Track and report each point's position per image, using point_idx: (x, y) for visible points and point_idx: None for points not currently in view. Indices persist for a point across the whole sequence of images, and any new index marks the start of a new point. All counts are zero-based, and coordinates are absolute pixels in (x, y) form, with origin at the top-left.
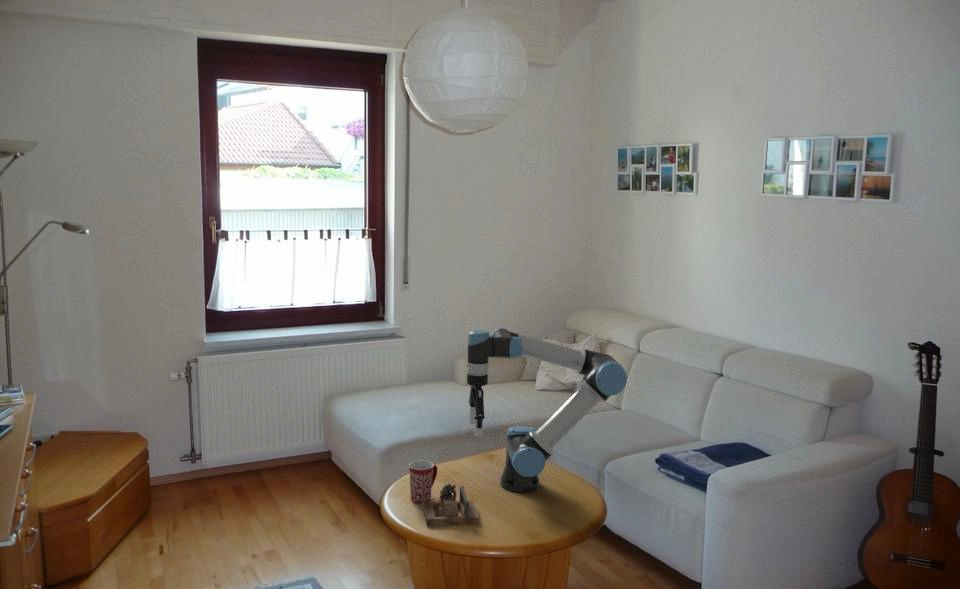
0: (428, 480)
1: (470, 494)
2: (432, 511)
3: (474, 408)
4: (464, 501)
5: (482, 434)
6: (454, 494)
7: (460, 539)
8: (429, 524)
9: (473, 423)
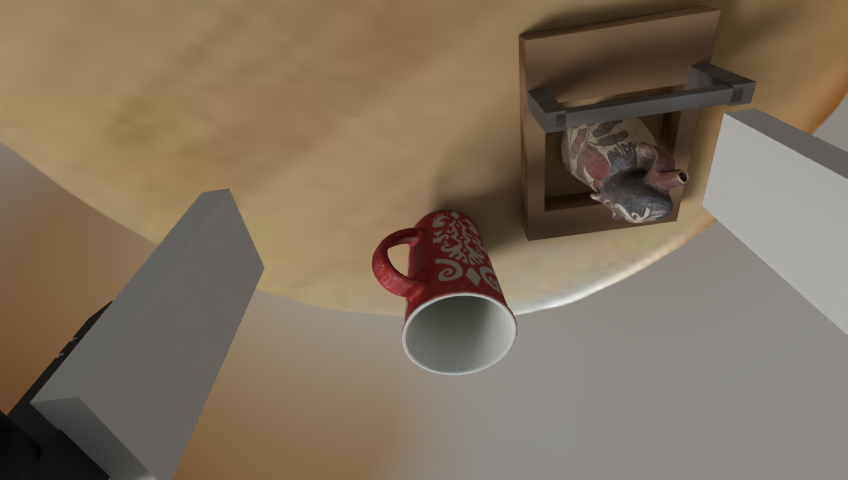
0: (489, 269)
1: (374, 49)
2: None
3: (130, 414)
4: (732, 105)
5: (772, 120)
6: (673, 159)
7: (808, 86)
8: None
9: (242, 233)
